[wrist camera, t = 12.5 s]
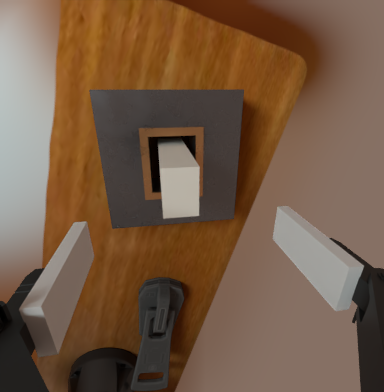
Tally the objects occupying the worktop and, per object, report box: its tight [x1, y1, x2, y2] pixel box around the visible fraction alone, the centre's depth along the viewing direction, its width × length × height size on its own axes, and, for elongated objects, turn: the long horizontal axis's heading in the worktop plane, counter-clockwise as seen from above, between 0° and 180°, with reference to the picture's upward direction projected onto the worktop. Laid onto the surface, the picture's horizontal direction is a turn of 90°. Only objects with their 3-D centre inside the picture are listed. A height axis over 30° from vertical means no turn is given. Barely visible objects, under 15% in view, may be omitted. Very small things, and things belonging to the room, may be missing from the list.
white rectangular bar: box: [158, 138, 200, 219], centre depth 29 cm, size 5×4×16 cm
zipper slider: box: [131, 278, 184, 391], centre depth 47 cm, size 9×7×25 cm
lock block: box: [90, 90, 244, 229], centre depth 33 cm, size 18×18×6 cm
